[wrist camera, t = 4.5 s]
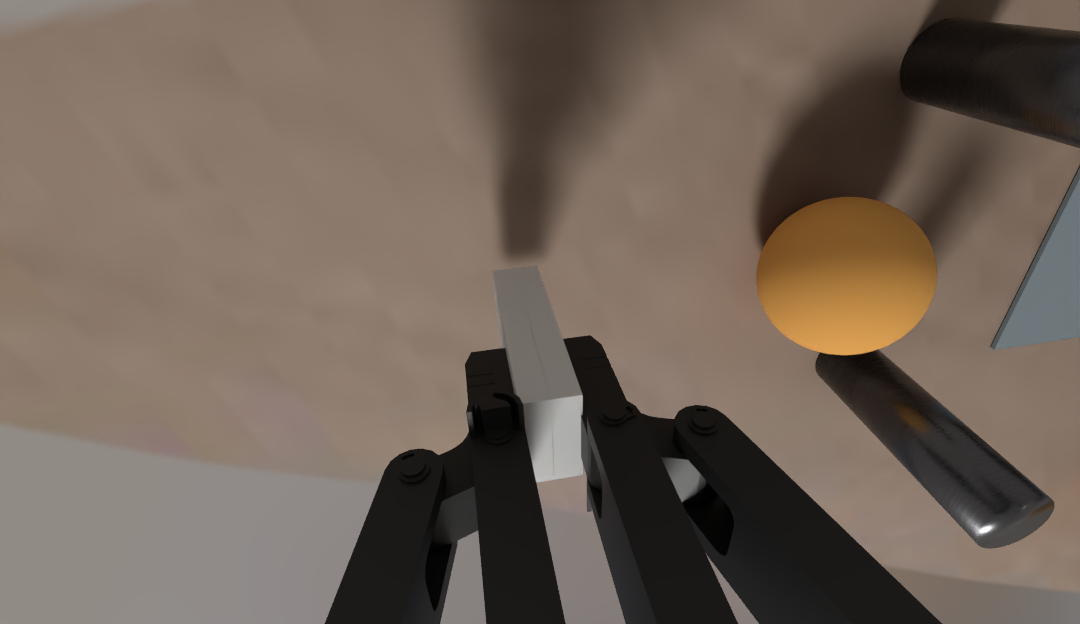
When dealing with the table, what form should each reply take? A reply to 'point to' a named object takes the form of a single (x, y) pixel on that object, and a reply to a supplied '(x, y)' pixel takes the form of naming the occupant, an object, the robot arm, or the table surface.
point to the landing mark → (1049, 284)
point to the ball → (846, 275)
